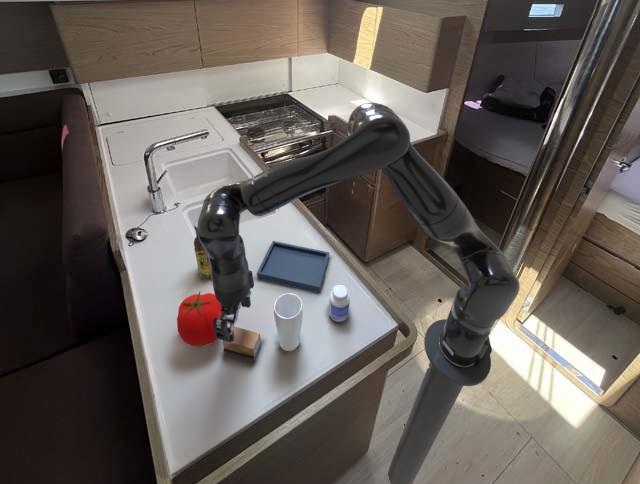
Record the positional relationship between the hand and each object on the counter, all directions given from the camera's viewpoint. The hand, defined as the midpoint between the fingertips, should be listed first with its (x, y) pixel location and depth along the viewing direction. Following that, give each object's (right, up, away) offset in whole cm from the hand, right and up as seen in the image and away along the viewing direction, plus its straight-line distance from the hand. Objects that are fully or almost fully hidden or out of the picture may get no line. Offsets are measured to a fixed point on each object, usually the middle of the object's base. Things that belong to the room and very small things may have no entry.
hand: (238, 321), depth 75 cm
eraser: (0, -10, +6) cm, 11 cm away
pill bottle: (+24, -5, +15) cm, 29 cm away
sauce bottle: (-15, +3, +26) cm, 30 cm away
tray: (+11, +3, +27) cm, 30 cm away
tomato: (-11, -8, +9) cm, 16 cm away
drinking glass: (+11, -9, +8) cm, 16 cm away
